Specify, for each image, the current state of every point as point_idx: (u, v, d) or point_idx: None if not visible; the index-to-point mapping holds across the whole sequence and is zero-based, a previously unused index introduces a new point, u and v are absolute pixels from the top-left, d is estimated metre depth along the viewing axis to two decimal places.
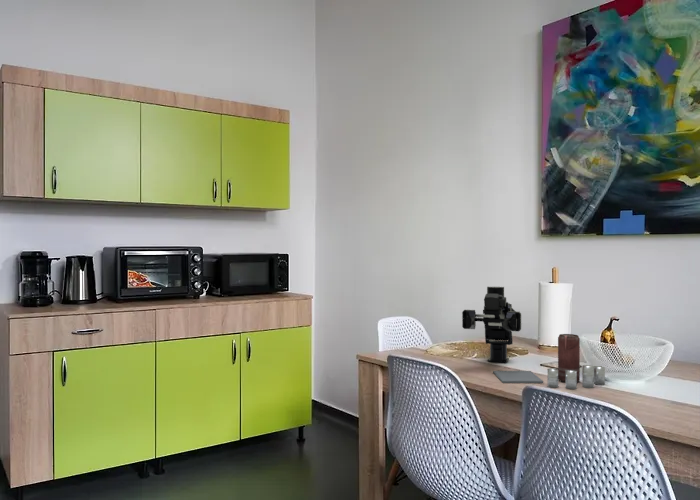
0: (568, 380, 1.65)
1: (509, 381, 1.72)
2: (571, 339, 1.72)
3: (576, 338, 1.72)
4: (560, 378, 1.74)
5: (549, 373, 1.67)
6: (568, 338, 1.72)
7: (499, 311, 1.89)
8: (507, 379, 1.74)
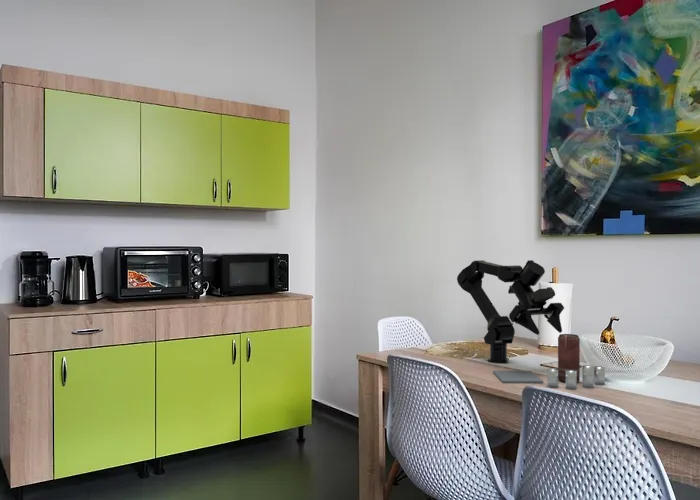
0: (568, 380, 1.65)
1: (509, 381, 1.72)
2: (571, 339, 1.72)
3: (576, 338, 1.72)
4: (560, 378, 1.74)
5: (549, 373, 1.67)
6: (568, 338, 1.72)
7: (545, 303, 1.87)
8: (507, 379, 1.74)
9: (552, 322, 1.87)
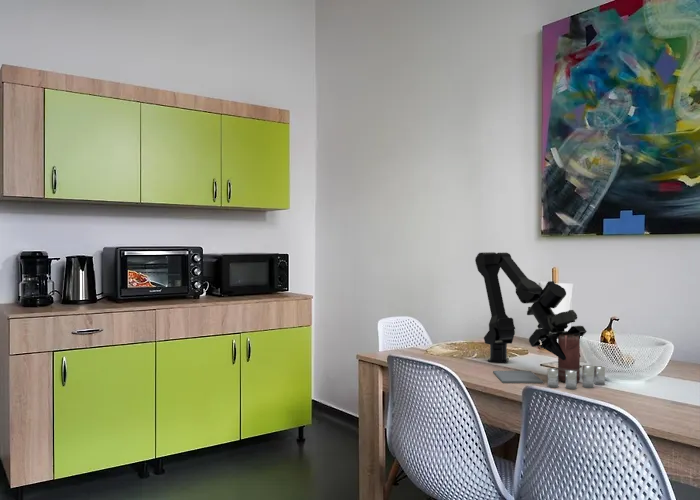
0: (568, 380, 1.65)
1: (509, 381, 1.72)
2: (571, 339, 1.72)
3: (576, 338, 1.72)
4: (560, 378, 1.74)
5: (549, 373, 1.67)
6: (568, 338, 1.72)
7: (566, 326, 1.78)
8: (507, 379, 1.74)
9: None
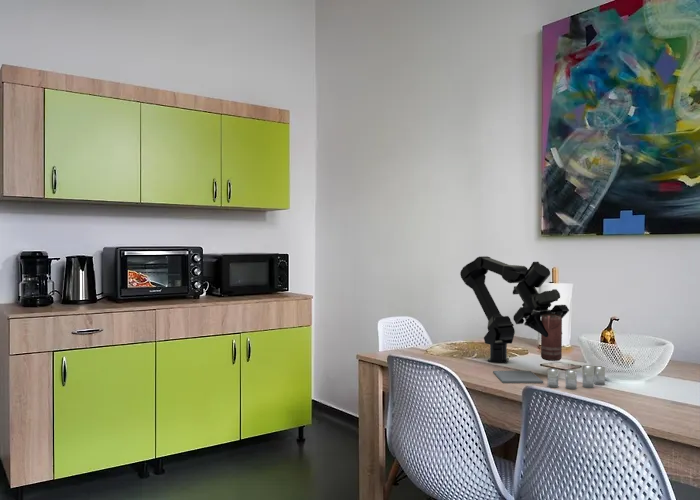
0: (568, 380, 1.65)
1: (509, 381, 1.72)
2: (554, 319, 1.78)
3: (558, 318, 1.78)
4: (543, 356, 1.81)
5: (549, 373, 1.67)
6: (551, 318, 1.78)
7: (549, 305, 1.85)
8: (507, 379, 1.74)
9: None
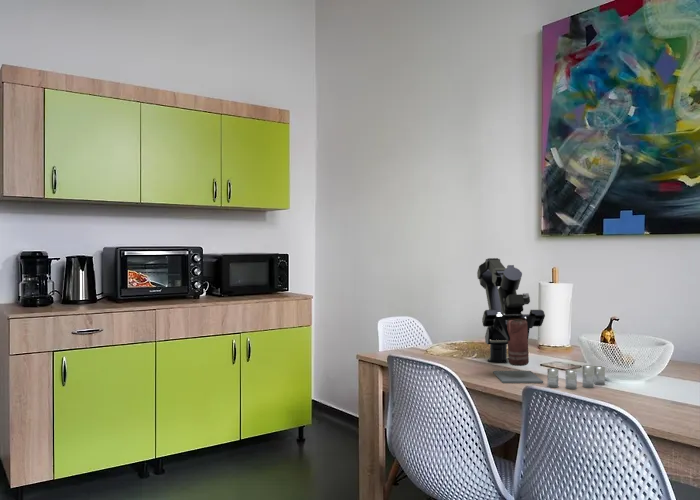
0: (568, 380, 1.65)
1: (509, 381, 1.72)
2: (514, 323, 1.76)
3: (520, 322, 1.76)
4: (508, 360, 1.80)
5: (549, 373, 1.67)
6: (512, 322, 1.77)
7: (521, 309, 1.82)
8: (507, 379, 1.74)
9: None
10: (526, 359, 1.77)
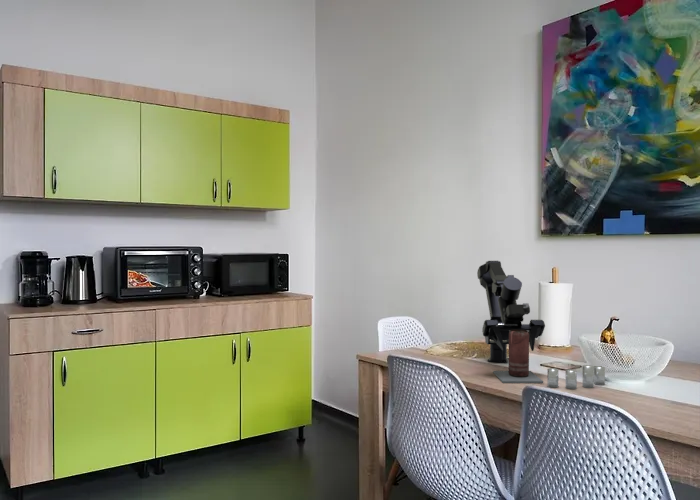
0: (568, 380, 1.65)
1: (509, 381, 1.72)
2: (516, 334, 1.77)
3: (522, 334, 1.77)
4: None
5: (549, 373, 1.67)
6: (514, 333, 1.78)
7: (521, 319, 1.82)
8: (507, 379, 1.74)
9: (529, 339, 1.82)
10: (526, 371, 1.77)
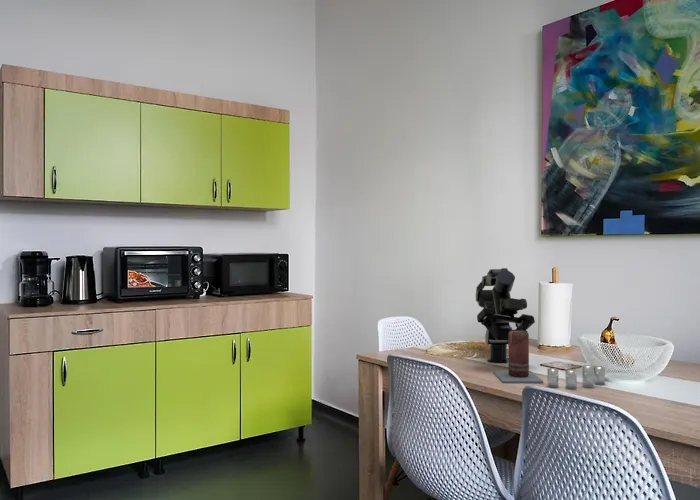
0: (568, 380, 1.65)
1: (509, 381, 1.72)
2: (516, 334, 1.77)
3: (522, 334, 1.77)
4: None
5: (549, 373, 1.67)
6: (513, 333, 1.78)
7: (516, 312, 1.92)
8: (507, 379, 1.74)
9: None
10: (526, 371, 1.77)
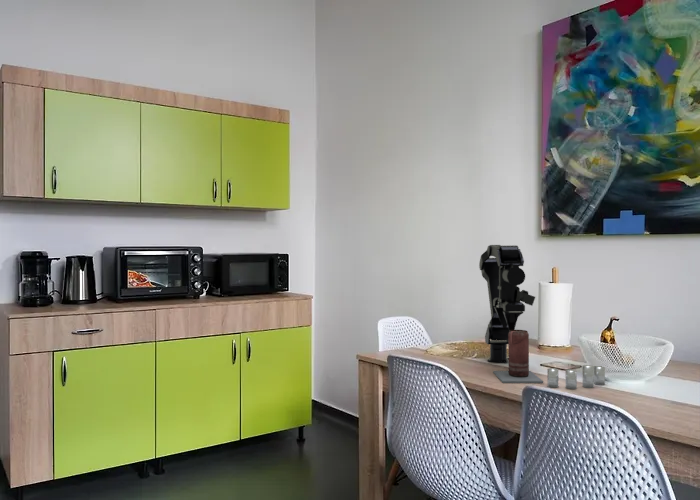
0: (568, 380, 1.65)
1: (509, 381, 1.72)
2: (516, 334, 1.77)
3: (522, 334, 1.77)
4: None
5: (549, 373, 1.67)
6: (513, 333, 1.78)
7: None
8: (507, 379, 1.74)
9: (501, 314, 1.96)
10: (526, 371, 1.77)
